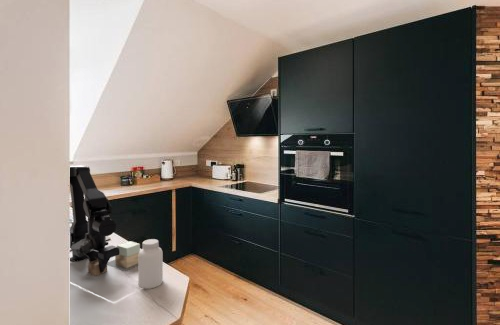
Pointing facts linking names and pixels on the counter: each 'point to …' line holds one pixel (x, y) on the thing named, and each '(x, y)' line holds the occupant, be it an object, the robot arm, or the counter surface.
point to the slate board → (112, 263)
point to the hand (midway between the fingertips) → (97, 270)
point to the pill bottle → (150, 264)
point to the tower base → (126, 260)
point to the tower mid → (129, 248)
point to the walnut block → (95, 268)
